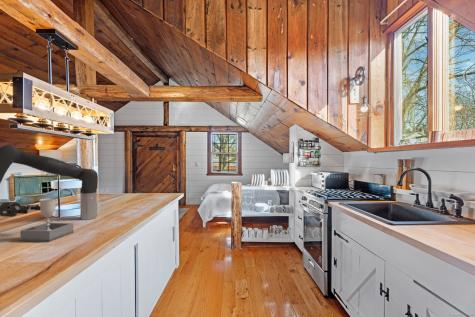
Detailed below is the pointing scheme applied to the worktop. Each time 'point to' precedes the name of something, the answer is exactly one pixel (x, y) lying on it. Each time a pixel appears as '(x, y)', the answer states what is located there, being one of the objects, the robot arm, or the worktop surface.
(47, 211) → the chalice
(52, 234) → the box
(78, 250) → the worktop surface
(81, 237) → the worktop surface
